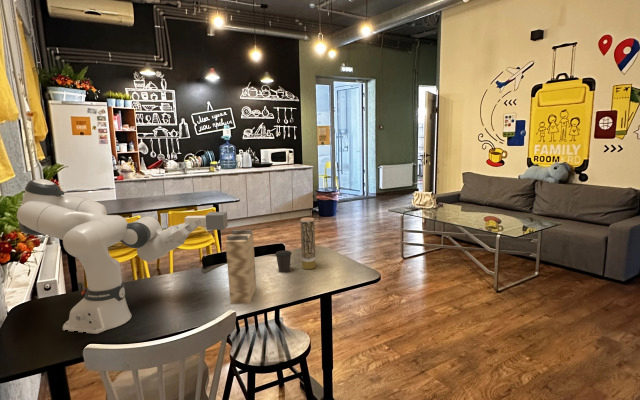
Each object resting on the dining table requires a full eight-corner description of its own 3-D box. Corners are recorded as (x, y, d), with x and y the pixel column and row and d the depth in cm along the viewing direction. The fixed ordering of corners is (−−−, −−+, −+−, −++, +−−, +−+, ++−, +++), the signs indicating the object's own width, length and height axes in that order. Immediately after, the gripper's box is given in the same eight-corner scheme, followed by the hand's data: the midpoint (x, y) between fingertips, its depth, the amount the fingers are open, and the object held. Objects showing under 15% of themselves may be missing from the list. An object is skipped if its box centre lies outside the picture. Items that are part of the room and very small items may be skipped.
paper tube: (314, 270, 189) (312, 220, 184) (300, 269, 190) (298, 220, 186) (316, 265, 196) (315, 217, 191) (304, 264, 197) (302, 217, 192)
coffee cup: (272, 271, 189) (271, 251, 187) (284, 266, 195) (284, 247, 193) (283, 275, 184) (282, 255, 182) (295, 270, 190) (295, 250, 188)
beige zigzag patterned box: (230, 303, 156) (225, 238, 150) (238, 289, 169) (234, 228, 164) (250, 303, 155) (245, 237, 150) (256, 288, 169) (252, 228, 164)
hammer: (184, 230, 154) (183, 215, 153) (189, 226, 160) (188, 212, 159) (224, 229, 154) (223, 215, 153) (227, 225, 160) (226, 211, 159)
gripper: (158, 237, 147) (188, 219, 146) (179, 224, 167) (205, 208, 166) (168, 251, 148) (197, 233, 147) (187, 236, 168) (213, 220, 167)
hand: (201, 219), depth 156 cm, fingers closed on hammer, 4 cm apart
